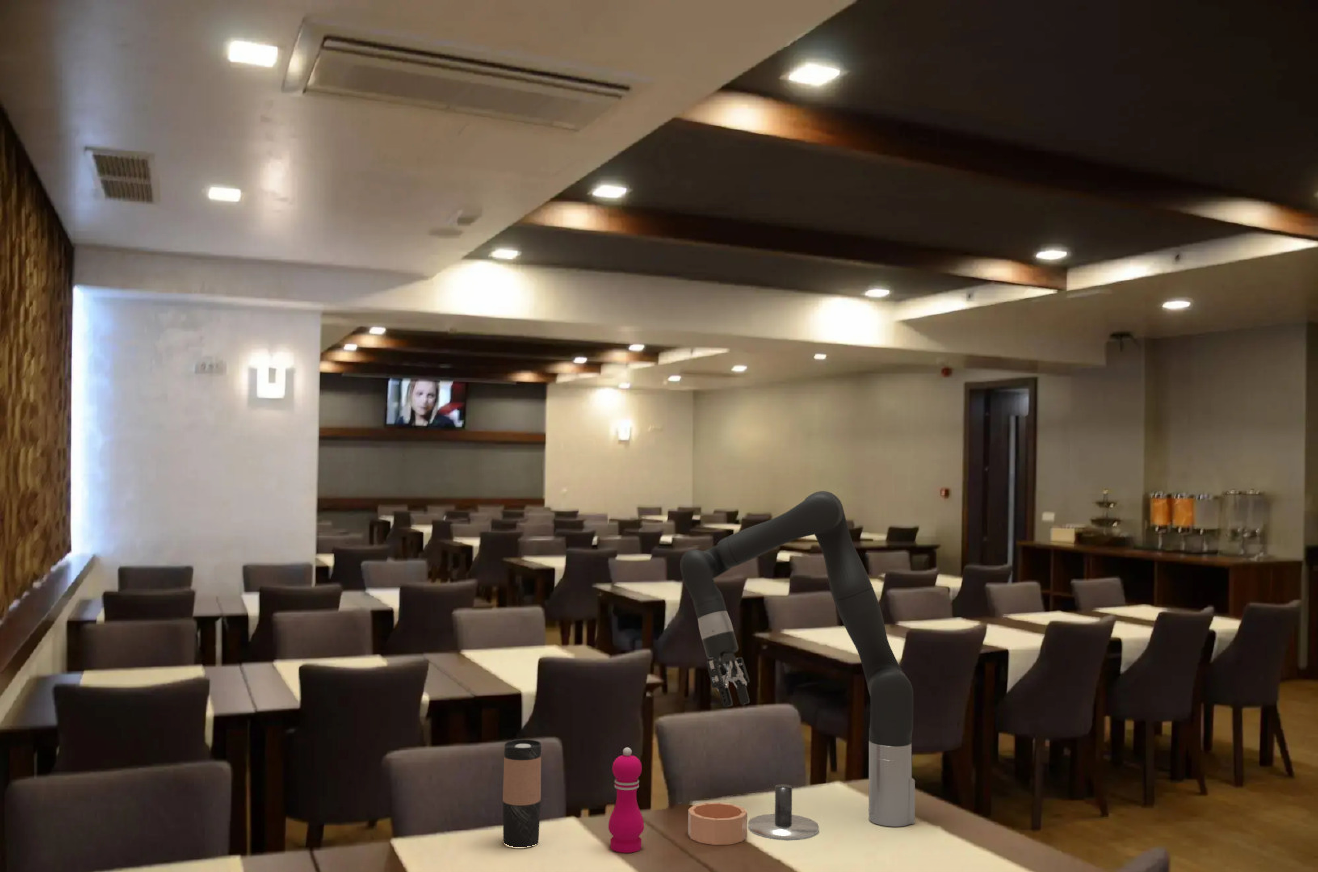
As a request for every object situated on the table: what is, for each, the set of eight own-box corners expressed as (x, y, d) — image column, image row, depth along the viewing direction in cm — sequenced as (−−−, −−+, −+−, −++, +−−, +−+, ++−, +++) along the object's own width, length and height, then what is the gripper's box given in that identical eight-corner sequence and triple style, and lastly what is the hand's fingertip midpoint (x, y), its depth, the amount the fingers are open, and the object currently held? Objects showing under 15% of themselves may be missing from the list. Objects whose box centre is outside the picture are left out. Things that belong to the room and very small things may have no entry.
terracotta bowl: (739, 825, 229) (739, 801, 229) (751, 843, 217) (751, 818, 217) (684, 826, 227) (684, 803, 227) (694, 845, 215) (694, 820, 215)
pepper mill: (645, 842, 216) (647, 743, 217) (641, 854, 209) (643, 752, 210) (610, 841, 217) (612, 742, 218) (605, 853, 210) (607, 751, 211)
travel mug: (546, 840, 217) (548, 741, 218) (526, 851, 210) (528, 749, 211) (515, 834, 220) (517, 737, 221) (494, 845, 213) (496, 745, 214)
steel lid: (807, 818, 235) (807, 776, 236) (827, 840, 220) (827, 795, 221) (741, 820, 233) (742, 777, 234) (757, 842, 218) (757, 797, 219)
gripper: (717, 630, 234) (737, 702, 229) (745, 629, 246) (765, 698, 241) (688, 639, 237) (708, 711, 232) (718, 638, 249) (737, 706, 244)
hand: (737, 704), depth 236 cm, fingers open, 8 cm apart
